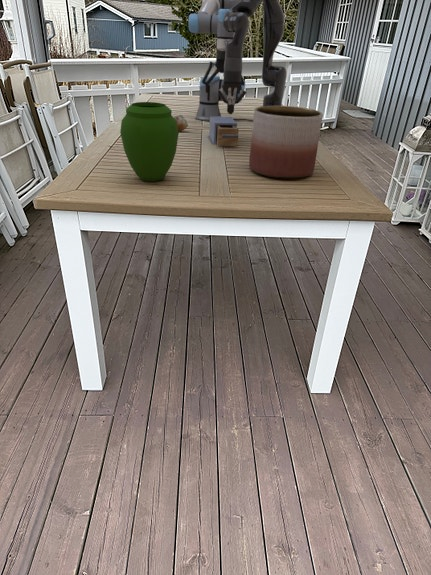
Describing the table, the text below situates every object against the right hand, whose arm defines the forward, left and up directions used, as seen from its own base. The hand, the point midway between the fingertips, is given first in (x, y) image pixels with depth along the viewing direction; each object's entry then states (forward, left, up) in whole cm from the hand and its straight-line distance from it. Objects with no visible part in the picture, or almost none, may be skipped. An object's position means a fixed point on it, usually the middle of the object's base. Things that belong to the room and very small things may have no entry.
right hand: (230, 113), depth 180 cm
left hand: (-4, -22, +2) cm, 22 cm away
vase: (+43, +36, -15) cm, 58 cm away
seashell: (+13, -41, -15) cm, 45 cm away
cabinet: (-3, -18, -15) cm, 23 cm away
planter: (-8, +36, -15) cm, 40 cm away
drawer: (-1, -7, -14) cm, 16 cm away
